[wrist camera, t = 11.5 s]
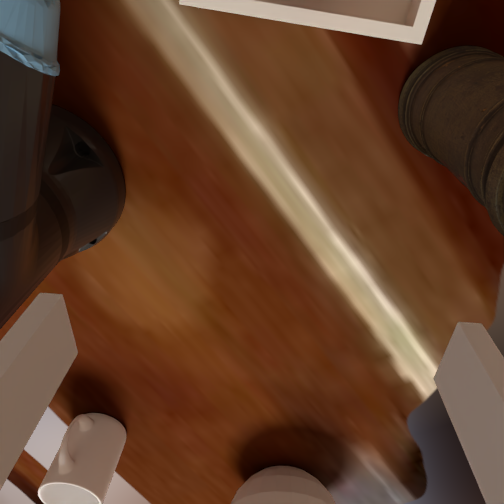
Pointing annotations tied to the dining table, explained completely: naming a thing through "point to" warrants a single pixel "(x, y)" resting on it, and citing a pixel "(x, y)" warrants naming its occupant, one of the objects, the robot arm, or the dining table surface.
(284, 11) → the dish
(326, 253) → the dining table surface
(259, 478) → the vase
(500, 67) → the container
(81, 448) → the mug
